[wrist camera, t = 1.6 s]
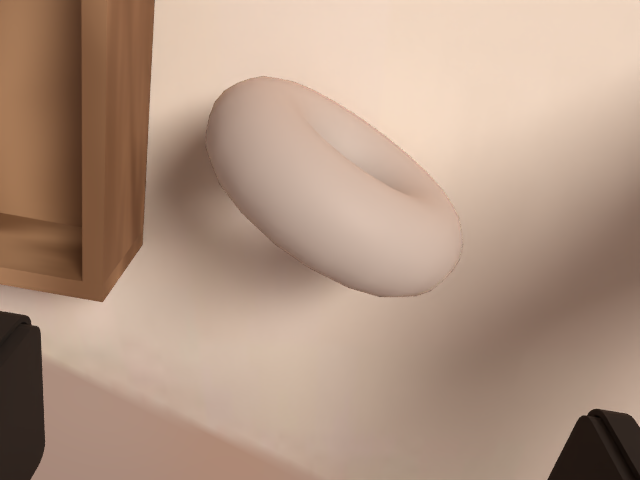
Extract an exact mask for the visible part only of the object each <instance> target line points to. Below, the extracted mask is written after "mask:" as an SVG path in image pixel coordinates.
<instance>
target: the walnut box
mask: <svg viewBox="0 0 640 480" xmlns="http://www.w3.org/2000/svg"><path fill="white" fill-rule="evenodd" d="M154 3H155V0H0V284H2V285H8V286H14V287H19V288H25V289H31V290H36V291H42V292H48V293H53V294H59V295H65V296H71V297H76V298H82V299H88V300H93V301H99V302H103V301H104V300H105V298H106V297H107V295H108V294H109V292H110V291H111V289H112V288H113V287H114V285H115V284H116V282H117V281H118V279H119V278H120V276H121V275H122V274H123V272H124V271H125V269H126V268H127V266H128V265H129V264H130V262H131V261H132V259H133V258H134V256H135V255H136V253H137V252H138V251H139V249H140V248H141V246H142V245H143V224H144V204H145V184H146V164H147V144H148V124H149V103H150V83H151V63H152V43H153V23H154Z"/></svg>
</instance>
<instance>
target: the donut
mask: <svg viewBox="0 0 640 480" xmlns="http://www.w3.org/2000/svg"><path fill="white" fill-rule="evenodd" d="M206 150H207V153H208V156H209V159H210V161H211V164H212V166H213V169H214V171H215V174H216V176H217V179H218V181H219V183H220V185H221V187H222V188H223V189H224V190H225V192H226V193H227V194H228V196H229V197H230V198H231V200H232V201H233V202H234V203H235V205H236V206H237V207H238V209H239V210H240V211H241V212H242V214H243V215H244V216H245V217H246V218H247V219H248V220H250V221H251V222H252V223H253V224H254V225H255V226H256V227H257V228H258V229H259V230H260V231H261V232H262V233H264V234H265V235H266V236H267V237H268V238H269V239H270V240H271V241H272V242H273V243H274V244H275V245H277V246H278V247H280V248H281V249H283V250H284V251H285V252H287V253H288V254H290V255H291V256H293V257H294V258H295V259H297V260H298V261H300V262H301V263H303V264H304V265H305V266H307V267H308V268H310V269H312V270H314V271H316V272H318V273H320V274H322V275H324V276H326V277H328V278H330V279H332V280H334V281H336V282H338V283H340V284H342V285H344V286H346V287H348V288H351V289H354V290H358V291H361V292H365V293H368V294H372V295H375V296H379V297H405V296H418V295H420V294H423V293H426V292H429V291H431V290H432V289H433V288H435V287H436V286H437V285H438V284H439V283H441V282H442V281H443V280H444V279H445V278H446V277H447V276H448V275H449V274H450V273H451V272H452V271H453V269H454V267H455V266H456V264H457V263H458V261H459V259H460V255H461V251H462V247H463V241H462V232H461V226H460V220H459V217H458V215H457V213H456V211H455V209H454V207H453V205H452V203H451V202H450V200H449V198H448V197H447V195H446V194H445V192H444V191H443V190H442V188H441V187H440V186H439V185H438V184H437V183H436V182H435V181H434V179H433V178H432V177H431V176H430V175H429V174H428V173H427V172H426V171H425V170H424V169H423V168H422V167H421V166H420V165H419V164H418V163H417V162H415V161H414V160H413V159H412V158H411V157H410V156H409V155H408V154H407V153H406V152H404V151H403V150H402V149H401V148H399V147H398V146H397V145H396V144H395V143H393V142H392V141H391V140H390V139H389V138H387V137H386V136H385V135H383V134H382V133H381V132H379V131H378V130H377V129H375V128H374V127H372V126H371V125H370V124H368V123H367V122H366V121H364V120H363V119H361V118H360V117H358V116H357V115H355V114H354V113H352V112H351V111H349V110H347V109H346V108H344V107H343V106H341V105H340V104H338V103H336V102H335V101H333V100H331V99H329V98H327V97H325V96H324V95H322V94H320V93H318V92H316V91H314V90H312V89H310V88H307V87H305V86H303V85H300V84H298V83H296V82H293V81H288V80H283V79H278V78H272V77H266V76H261V77H256V78H251V79H247V80H244V81H242V82H239V83H237V84H235V85H233V86H231V87H230V88H228V89H226V90H225V91H224V92H223V93H222V94H221V95H220V96H219V98H218V99H217V100H216V101H215V103H214V105H213V108H212V111H211V113H210V116H209V120H208V125H207V130H206Z"/></svg>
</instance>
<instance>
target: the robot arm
mask: <svg viewBox="0 0 640 480" xmlns="http://www.w3.org/2000/svg"><path fill="white" fill-rule="evenodd" d="M44 447H45V431H44V406H43V381H42V355H41V333H40V329H39V327H37V326H33V325H31V320H30V318H29V317H28V316H26V315H21V314H15V313H8V312H2V311H0V480H30V479H31V477H32V476H33V474H34V472H35V470H36V469H37V467H38V465H39V463H40V461H41V458H42V456H43V452H44ZM548 480H640V427H639V426H638V424H637V423H636V421H635V420H634V419H633V418H632V416H630V415H628V414H625V413H619V412H613V411H607V410H601V409H593V410H592V411H590V412H589V413H588V415H587V416H581V417H580V418H579V419H578V421H577V422H576V424H575V426H574V428H573V430H572V432H571V434H570V436H569V438H568V440H567V442H566V444H565V446H564V448H563V450H562V452H561V454H560V456H559V458H558V460H557V462H556V464H555V466H554V468H553V470H552V472H551V474H550V476H549V478H548Z"/></svg>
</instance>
